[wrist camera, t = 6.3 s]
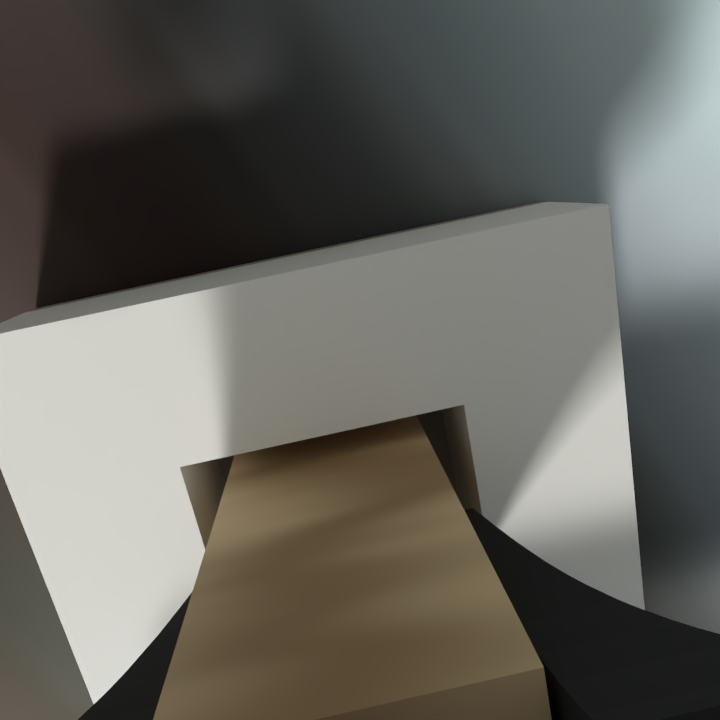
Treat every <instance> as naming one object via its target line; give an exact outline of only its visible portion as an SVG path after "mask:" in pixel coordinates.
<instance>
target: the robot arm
mask: <svg viewBox="0 0 720 720" xmlns="http://www.w3.org/2000/svg"><path fill="white" fill-rule="evenodd" d="M464 511H465V513H466V515H467V517H468V518H469V520H470V522H471V524H472V526H473V528H474V530H475V532H476V534H477V536H478V538H479V540H480V542H481V544H482V546H483V548H484V550H485V552H486V554H487V556H488V558H489V560H490V562H491V564H492V566H493V568H494V570H495V572H496V574H497V576H498V578H499V580H500V582H501V584H502V586H503V588H504V590H505V592H506V594H507V596H508V597H509V599H510V601H511V603H512V605H513V607H514V609H515V611H516V613H517V615H518V617H519V619H520V621H521V623H522V625H523V627H524V629H525V631H526V633H527V635H528V637H529V639H530V641H531V643H532V645H533V647H534V649H535V651H536V653H537V655H538V657H539V659H540V661H541V663H542V665H543V667H544V672H545V678H546V685H547V692H548V698H549V705H550V712H551V718H552V720H720V634H717V633H713V632H710V631H706V630H703V629H699V628H695V627H692V626H689V625H686V624H683V623H680V622H676V621H673V620H670V619H667V618H665V617H662V616H659V615H657V614H654V613H651V612H648V611H646V610H643V609H640V608H638V607H635V606H633V605H630V604H628V603H625V602H623V601H621V600H618V599H616V598H614V597H612V596H609V595H607V594H605V593H603V592H601V591H599V590H597V589H595V588H593V587H590V586H588V585H586V584H584V583H582V582H580V581H579V580H577V579H575V578H573V577H571V576H569V575H568V574H566V573H564V572H562V571H561V570H559V569H557V568H556V567H554V566H552V565H551V564H549V563H547V562H546V561H544V560H543V559H541V558H540V557H538V556H537V555H535V554H534V553H532V552H531V551H529V550H528V549H526V548H525V547H524V546H522V545H521V544H519V543H518V542H516V541H515V540H514V539H512V538H511V537H510V536H508V535H507V534H506V533H504V532H503V531H502V530H500V529H499V528H498V527H496V526H495V525H494V524H493V523H491V522H490V521H489V520H488V519H486V518H485V517H484V516H483V515H481V514H480V513H479V512H477V511H476V510H474V509H473V508H469V509H465V510H464ZM192 592H193V591H192ZM191 595H192V593H191V594H190V595H189V597H188V598H187V599H186V600H185V602H184V603H183V604H182V606H181V607H180V608H179V609H178V611H177V612H176V613H175V614H174V616H173V617H172V618H171V619H170V621H169V622H168V623H167V625H166V626H165V627H164V628H163V630H162V631H161V632H160V633H159V635H158V636H157V637H156V638H155V639H154V640H153V641H152V643H151V644H150V645H149V646H148V647H147V648H146V649H145V651H144V652H143V653H142V654H141V655H140V656H139V657H138V659H137V660H136V661H135V662H134V663H133V664H132V665H131V667H130V668H129V669H128V670H127V671H126V672H125V673H124V674H123V676H122V677H121V678H120V679H119V680H118V681H117V682H116V683H115V684H114V685H113V686H112V687H111V688H110V689H109V690H108V691H107V692H106V693H105V694H104V695H103V696H102V697H101V698H100V699H99V700H98V701H97V702H96V703H95V704H94V705H93V706H92V707H91V708H90V709H89V710H88V711H86V712H85V713H84V714H83V715H82V716H81V717H80V718H79V719H78V720H153V718H154V715H155V711H156V708H157V705H158V702H159V698H160V695H161V692H162V689H163V685H164V682H165V679H166V676H167V673H168V669H169V666H170V663H171V660H172V656H173V653H174V650H175V647H176V643H177V640H178V637H179V634H180V630H181V627H182V624H183V621H184V617H185V614H186V611H187V608H188V605H189V601H190V598H191Z"/></svg>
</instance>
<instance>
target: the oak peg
mask: <svg viewBox="0 0 720 720" xmlns="http://www.w3.org/2000/svg"><path fill="white" fill-rule="evenodd" d="M153 720H552V718H551V712H550V705H549V698H548V692H547V685H546V678H545V672H544V667H543V665H542V663H541V661H540V659H539V657H538V655H537V653H536V651H535V649H534V647H533V645H532V643H531V641H530V639H529V637H528V635H527V633H526V631H525V629H524V627H523V625H522V623H521V621H520V619H519V617H518V615H517V613H516V611H515V609H514V607H513V605H512V603H511V601H510V599H509V597H508V596H507V594H506V592H505V590H504V588H503V586H502V584H501V582H500V580H499V578H498V576H497V574H496V572H495V570H494V568H493V566H492V564H491V562H490V560H489V558H488V556H487V554H486V552H485V550H484V548H483V546H482V544H481V542H480V540H479V538H478V536H477V534H476V532H475V530H474V528H473V526H472V524H471V522H470V520H469V518H468V517H467V515H466V513H465V511H464V509H463V507H462V505H461V503H460V501H459V499H458V497H457V495H456V493H455V491H454V489H453V487H452V485H451V483H450V481H449V479H448V477H447V475H446V473H445V471H444V469H443V467H442V465H441V463H440V461H439V459H438V457H437V455H436V453H435V451H434V449H433V447H432V445H431V443H430V441H429V439H428V438H427V436H426V434H425V432H424V430H423V428H422V426H421V424H420V422H419V420H418V418H417V416H416V415H415V416H410V417H406V418H401V419H397V420H392V421H387V422H383V423H378V424H374V425H369V426H365V427H360V428H356V429H351V430H346V431H342V432H337V433H333V434H328V435H324V436H319V437H315V438H310V439H306V440H301V441H296V442H292V443H287V444H283V445H278V446H274V447H269V448H265V449H260V450H256V451H251V452H246V453H242V454H237V455H235V456H234V459H233V462H232V465H231V468H230V472H229V475H228V478H227V481H226V485H225V488H224V491H223V494H222V498H221V501H220V504H219V507H218V511H217V514H216V517H215V520H214V524H213V527H212V530H211V533H210V537H209V540H208V543H207V546H206V549H205V553H204V556H203V559H202V562H201V566H200V569H199V572H198V575H197V579H196V582H195V585H194V588H193V592H192V595H191V598H190V601H189V605H188V608H187V611H186V614H185V617H184V621H183V624H182V627H181V630H180V634H179V637H178V640H177V643H176V647H175V650H174V653H173V656H172V660H171V663H170V666H169V669H168V673H167V676H166V679H165V682H164V685H163V689H162V692H161V695H160V698H159V702H158V705H157V708H156V711H155V715H154V718H153Z"/></svg>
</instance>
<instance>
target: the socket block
mask: <svg viewBox="0 0 720 720" xmlns="http://www.w3.org/2000/svg"><path fill="white" fill-rule="evenodd" d="M415 415H416V416H417V418H418V420H419V422H420V424H421V426H422V428H423V430H424V432H425V434H426V436H427V438H428V439H429V441H430V443H431V445H432V447H433V449H434V451H435V453H436V455H437V457H438V459H439V461H440V463H441V465H442V467H443V469H444V471H445V473H446V475H447V477H448V479H449V481H450V483H451V485H452V487H453V489H454V491H455V493H456V495H457V497H458V499H459V501H460V503H461V505H462V507H463V509H464V510H465V509H469V508H473V509H474V510H476V511H477V512H479V513H480V514H481V515H483V516H484V517H485V518H486V519H488V520H489V521H490V522H491V523H493V524H494V525H495V526H496V527H498V528H499V529H500V530H502V531H503V532H504V533H506V534H507V535H508V536H510V537H511V538H512V539H514V540H515V541H516V542H518V543H519V544H521V545H522V546H524V547H525V548H526V549H528V550H529V551H531V552H532V553H534V554H535V555H537V556H538V557H540V558H541V559H543V560H544V561H546V562H547V563H549V564H551V565H552V566H554V567H556V568H557V569H559V570H561V571H562V572H564V573H566V574H568V575H569V576H571V577H573V578H575V579H577V580H579V581H580V582H582V583H584V584H586V585H588V586H590V587H593V588H595V589H597V590H599V591H601V592H603V593H605V594H607V595H609V596H612V597H614V598H616V599H618V600H621V601H623V602H625V603H628V604H630V605H633V606H635V607H638V608H640V609H643V610H645V607H644V596H643V585H642V573H641V562H640V551H639V540H638V528H637V517H636V506H635V494H634V483H633V472H632V460H631V449H630V438H629V427H628V415H627V404H626V393H625V381H624V370H623V359H622V348H621V336H620V325H619V314H618V302H617V291H616V280H615V269H614V257H613V246H612V235H611V223H610V212H609V204H594V203H568V202H542V201H539V202H534V203H530V204H525V205H520V206H515V207H511V208H506V209H501V210H497V211H492V212H487V213H482V214H478V215H473V216H468V217H464V218H459V219H454V220H449V221H445V222H440V223H435V224H431V225H426V226H421V227H416V228H412V229H407V230H402V231H398V232H393V233H388V234H383V235H379V236H374V237H369V238H365V239H360V240H355V241H350V242H346V243H341V244H336V245H332V246H327V247H322V248H317V249H313V250H308V251H303V252H298V253H294V254H289V255H284V256H280V257H275V258H270V259H265V260H261V261H256V262H251V263H247V264H242V265H237V266H232V267H228V268H223V269H218V270H214V271H209V272H204V273H199V274H195V275H190V276H185V277H181V278H176V279H171V280H166V281H162V282H157V283H152V284H148V285H143V286H138V287H133V288H129V289H124V290H119V291H115V292H110V293H105V294H100V295H96V296H91V297H86V298H82V299H77V300H72V301H67V302H63V303H58V304H53V305H49V306H44V307H39V308H35V309H32V310H30V311H28V312H25V313H23V314H21V315H18V316H16V317H14V318H11V319H9V320H6V321H4V322H2V323H0V468H1V471H2V474H3V476H4V479H5V481H6V484H7V486H8V489H9V491H10V494H11V496H12V499H13V501H14V504H15V506H16V509H17V511H18V514H19V517H20V519H21V522H22V524H23V527H24V529H25V532H26V534H27V537H28V539H29V542H30V544H31V547H32V549H33V552H34V555H35V557H36V560H37V562H38V565H39V567H40V570H41V572H42V575H43V577H44V580H45V582H46V585H47V587H48V590H49V592H50V595H51V598H52V600H53V603H54V605H55V608H56V610H57V613H58V615H59V618H60V620H61V623H62V625H63V628H64V630H65V633H66V636H67V638H68V641H69V643H70V646H71V648H72V651H73V653H74V656H75V658H76V661H77V663H78V666H79V668H80V671H81V673H82V676H83V679H84V681H85V684H86V686H87V689H88V691H89V694H90V696H91V699H92V701H93V704H95V703H96V702H97V701H98V700H99V699H100V698H101V697H102V696H103V695H104V694H105V693H106V692H107V691H108V690H109V689H110V688H111V687H112V686H113V685H114V684H115V683H116V682H117V681H118V680H119V679H120V678H121V677H122V676H123V674H124V673H125V672H126V671H127V670H128V669H129V668H130V667H131V665H132V664H133V663H134V662H135V661H136V660H137V659H138V657H139V656H140V655H141V654H142V653H143V652H144V651H145V649H146V648H147V647H148V646H149V645H150V644H151V643H152V641H153V640H154V639H155V638H156V637H157V636H158V635H159V633H160V632H161V631H162V630H163V628H164V627H165V626H166V625H167V623H168V622H169V621H170V619H171V618H172V617H173V616H174V614H175V613H176V612H177V611H178V609H179V608H180V607H181V606H182V604H183V603H184V602H185V600H186V599H187V598H188V597H189V595H190V594H191V593H192V591H193V588H194V585H195V582H196V579H197V575H198V572H199V569H200V566H201V562H202V559H203V556H204V553H205V549H206V546H207V543H208V540H209V537H210V533H211V530H212V527H213V524H214V520H215V517H216V514H217V511H218V507H219V504H220V501H221V498H222V494H223V491H224V488H225V485H226V481H227V478H228V475H229V472H230V468H231V465H232V462H233V459H234V456H235V455H237V454H242V453H246V452H251V451H256V450H260V449H265V448H269V447H274V446H278V445H283V444H287V443H292V442H296V441H301V440H306V439H310V438H315V437H319V436H324V435H328V434H333V433H337V432H342V431H346V430H351V429H356V428H360V427H365V426H369V425H374V424H378V423H383V422H387V421H392V420H397V419H401V418H406V417H410V416H415Z"/></svg>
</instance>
